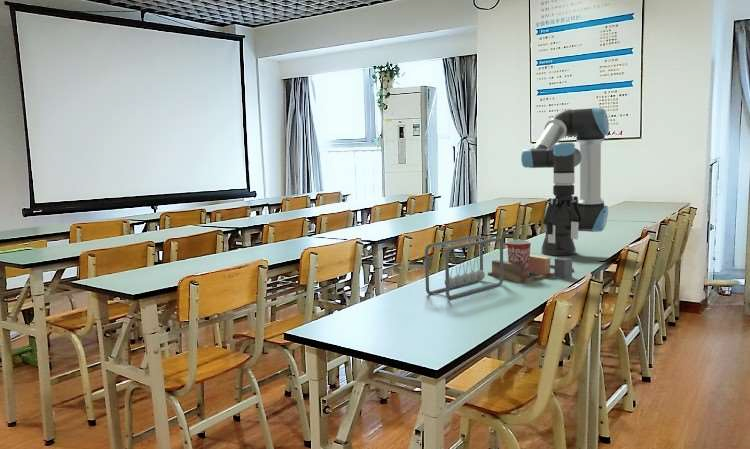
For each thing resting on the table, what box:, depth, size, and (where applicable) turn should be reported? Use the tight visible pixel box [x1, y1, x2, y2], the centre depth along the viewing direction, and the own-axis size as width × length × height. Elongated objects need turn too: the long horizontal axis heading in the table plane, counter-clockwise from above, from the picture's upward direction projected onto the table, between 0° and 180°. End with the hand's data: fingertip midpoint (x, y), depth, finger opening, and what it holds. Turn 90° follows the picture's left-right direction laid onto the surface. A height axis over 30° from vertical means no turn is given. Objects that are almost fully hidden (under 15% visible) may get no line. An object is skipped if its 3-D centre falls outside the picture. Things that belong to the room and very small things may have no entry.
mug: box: [506, 239, 532, 279], centre depth 229 cm, size 13×9×14 cm
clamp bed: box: [487, 259, 575, 284], centre depth 233 cm, size 29×18×6 cm, turn 125°
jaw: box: [529, 253, 552, 276], centre depth 234 cm, size 3×14×7 cm, turn 35°
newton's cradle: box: [424, 234, 504, 300], centre depth 209 cm, size 30×10×18 cm, turn 130°
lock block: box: [554, 257, 573, 280], centre depth 225 cm, size 4×4×7 cm
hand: (563, 240), depth 224 cm, fingers open, 13 cm apart
